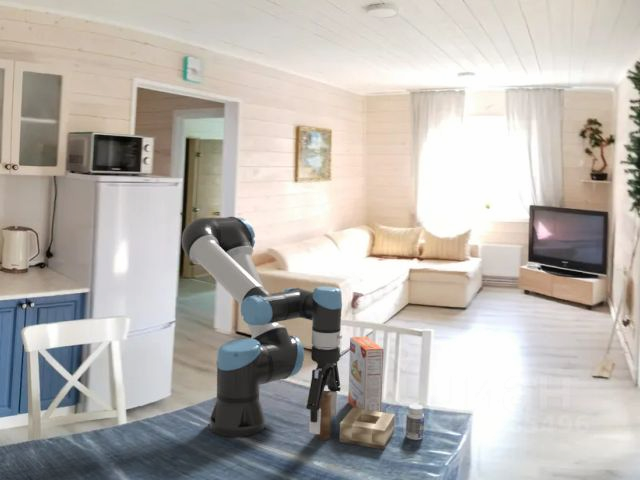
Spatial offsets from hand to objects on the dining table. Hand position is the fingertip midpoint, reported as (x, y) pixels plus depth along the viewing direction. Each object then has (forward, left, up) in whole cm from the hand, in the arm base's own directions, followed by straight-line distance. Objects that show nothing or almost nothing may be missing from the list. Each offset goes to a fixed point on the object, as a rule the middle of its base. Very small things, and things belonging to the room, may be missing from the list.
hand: (323, 423), depth 159 cm
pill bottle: (+23, +10, -4) cm, 25 cm away
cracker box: (+5, +23, -4) cm, 24 cm away
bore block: (+11, +5, -4) cm, 13 cm away
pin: (0, 0, -4) cm, 4 cm away
